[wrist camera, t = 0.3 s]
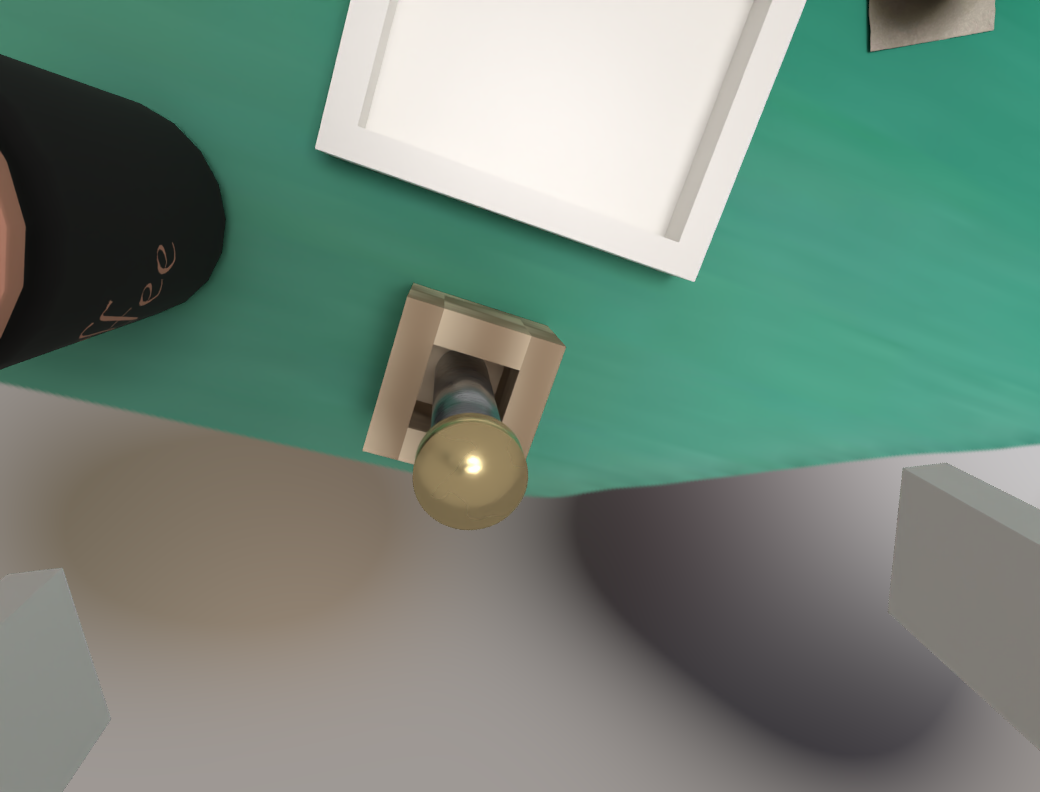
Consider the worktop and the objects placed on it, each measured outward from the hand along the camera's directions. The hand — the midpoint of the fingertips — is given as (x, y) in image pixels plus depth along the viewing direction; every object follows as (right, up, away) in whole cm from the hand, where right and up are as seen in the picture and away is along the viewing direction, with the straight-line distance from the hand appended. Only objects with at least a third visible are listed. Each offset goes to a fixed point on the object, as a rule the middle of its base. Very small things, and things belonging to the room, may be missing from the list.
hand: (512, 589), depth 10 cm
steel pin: (-3, +4, +26) cm, 26 cm away
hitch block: (-3, +5, +27) cm, 27 cm away
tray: (+2, +20, +23) cm, 31 cm away
